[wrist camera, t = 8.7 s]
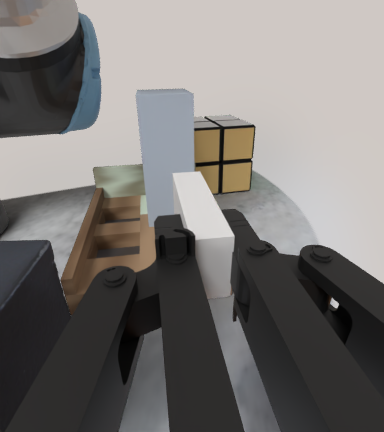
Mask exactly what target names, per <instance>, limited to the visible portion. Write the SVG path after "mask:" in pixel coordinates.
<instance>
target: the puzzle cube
mask: <svg viewBox="0 0 384 432" xmlns="http://www.w3.org/2000/svg"><path fill="white" fill-rule="evenodd" d="M254 138H255V126H254V125H253V124H251V123H248V122H246V121H244V120H240V119H239V118H236V117H234V116H231V115H223V116H205V117H204V118H203V117H194V161H195V163H196V172H198V171H200V172H201V174H202V176H203V178H204V180H205V181H206V183H207V185H208V187H209V189H210V191H211V193H212V195H214V194H218V193H219V192H220V193H221V194H224V193H233V192H242V191H249V190H250V187H251V175H252V161H251V159H252V158H253V149H254Z"/></svg>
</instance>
